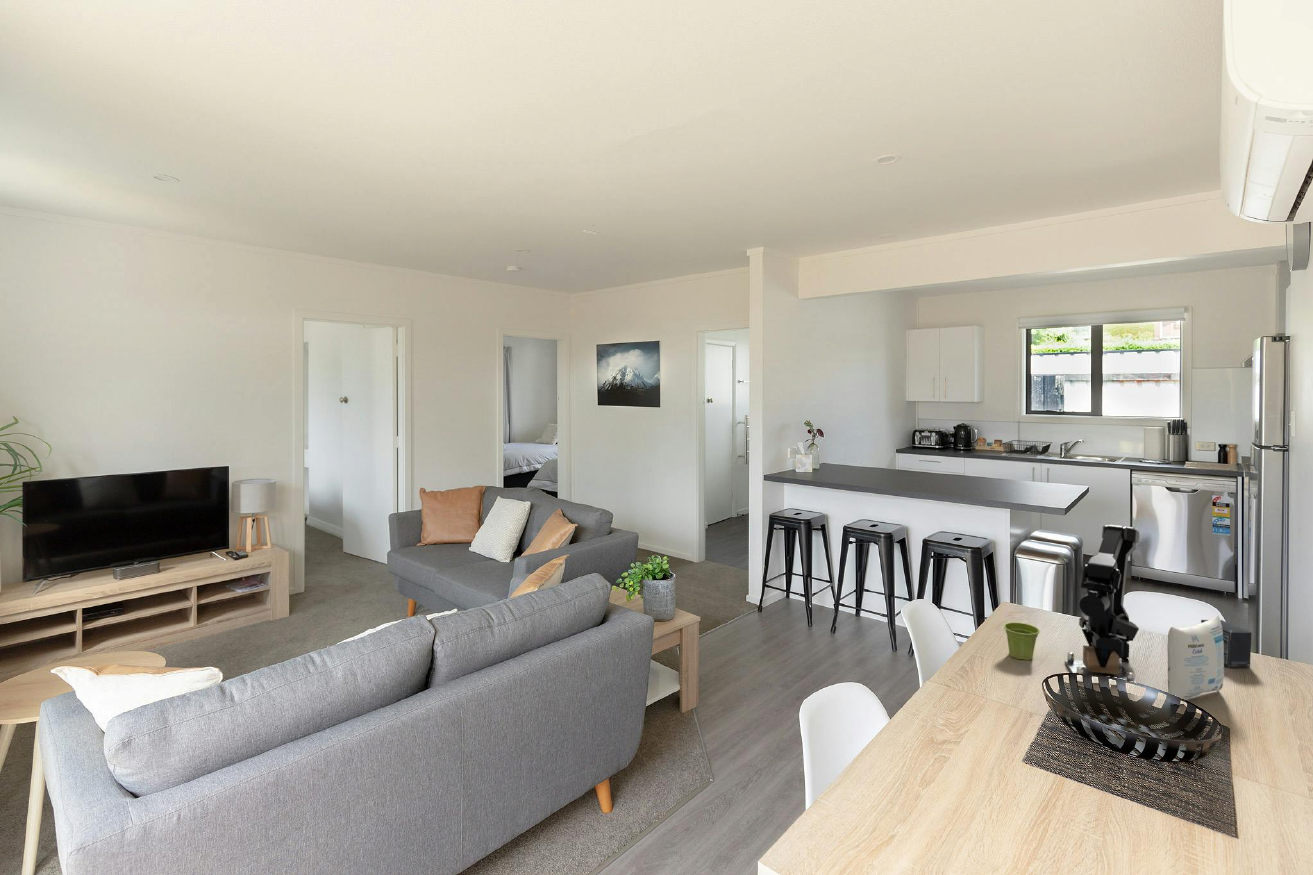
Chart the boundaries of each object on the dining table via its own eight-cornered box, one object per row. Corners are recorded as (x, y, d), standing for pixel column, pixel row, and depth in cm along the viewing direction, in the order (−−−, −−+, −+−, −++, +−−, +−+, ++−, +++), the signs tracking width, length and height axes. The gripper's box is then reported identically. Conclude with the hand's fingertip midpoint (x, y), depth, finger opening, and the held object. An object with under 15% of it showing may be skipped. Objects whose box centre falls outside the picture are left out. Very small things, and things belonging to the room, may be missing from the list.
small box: (1252, 668, 184) (1253, 631, 184) (1228, 668, 184) (1230, 632, 184) (1220, 653, 195) (1222, 618, 194) (1198, 653, 195) (1199, 619, 194)
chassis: (1075, 681, 179) (1076, 669, 179) (1064, 662, 191) (1064, 651, 191) (1137, 688, 174) (1137, 675, 174) (1121, 668, 186) (1121, 656, 186)
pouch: (1237, 698, 167) (1240, 621, 166) (1184, 711, 162) (1186, 632, 160) (1203, 685, 175) (1206, 612, 173) (1151, 697, 169) (1153, 621, 168)
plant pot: (1045, 657, 195) (1045, 628, 195) (1029, 665, 190) (1029, 636, 189) (1013, 647, 203) (1013, 620, 202) (997, 655, 198) (997, 626, 197)
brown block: (1118, 674, 178) (1119, 656, 178) (1088, 671, 181) (1089, 653, 180) (1111, 665, 184) (1112, 648, 184) (1082, 662, 186) (1083, 645, 186)
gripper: (1147, 621, 170) (1145, 680, 171) (1124, 599, 187) (1123, 653, 188) (1097, 617, 174) (1095, 675, 175) (1079, 596, 191) (1078, 648, 192)
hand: (1099, 662), depth 182 cm, fingers open, 6 cm apart
